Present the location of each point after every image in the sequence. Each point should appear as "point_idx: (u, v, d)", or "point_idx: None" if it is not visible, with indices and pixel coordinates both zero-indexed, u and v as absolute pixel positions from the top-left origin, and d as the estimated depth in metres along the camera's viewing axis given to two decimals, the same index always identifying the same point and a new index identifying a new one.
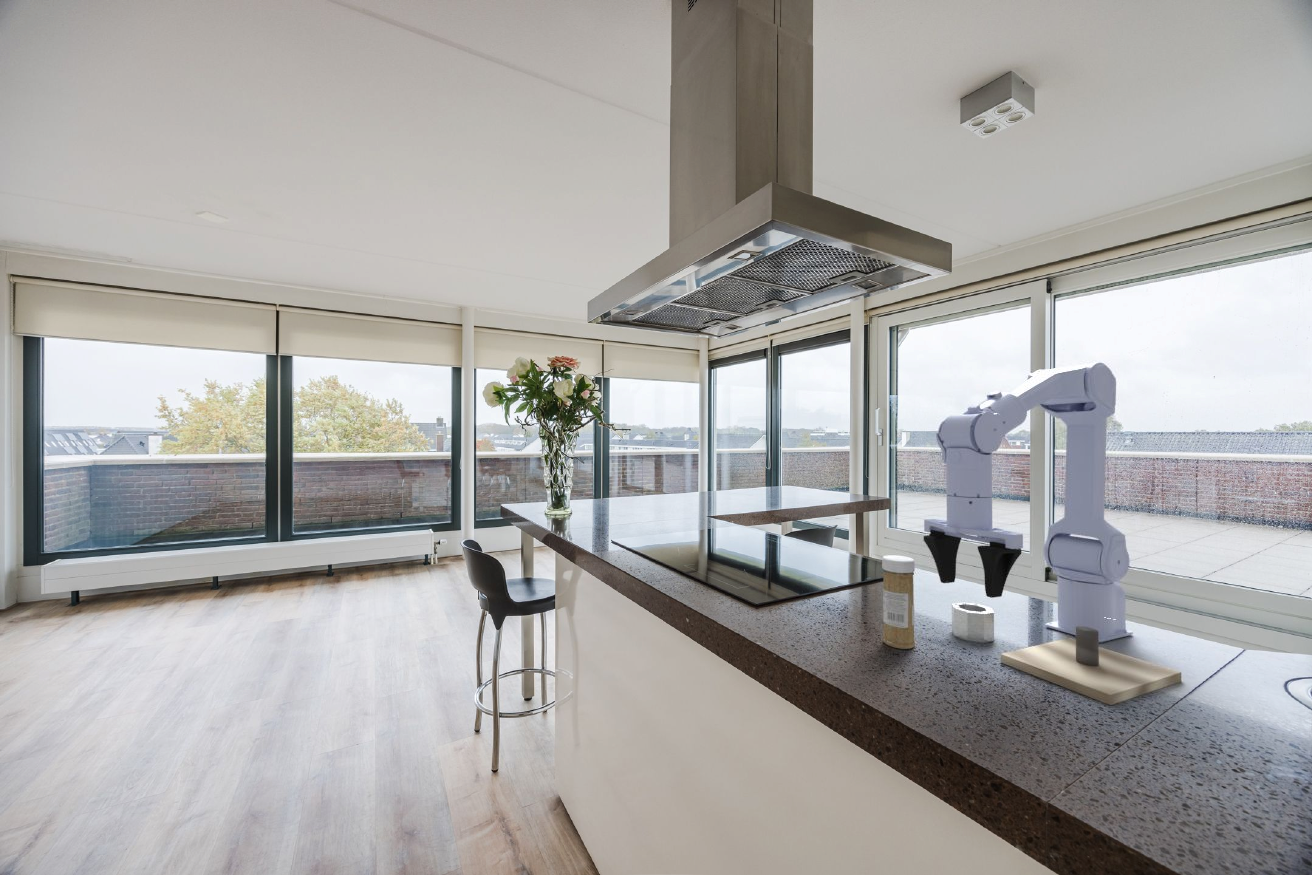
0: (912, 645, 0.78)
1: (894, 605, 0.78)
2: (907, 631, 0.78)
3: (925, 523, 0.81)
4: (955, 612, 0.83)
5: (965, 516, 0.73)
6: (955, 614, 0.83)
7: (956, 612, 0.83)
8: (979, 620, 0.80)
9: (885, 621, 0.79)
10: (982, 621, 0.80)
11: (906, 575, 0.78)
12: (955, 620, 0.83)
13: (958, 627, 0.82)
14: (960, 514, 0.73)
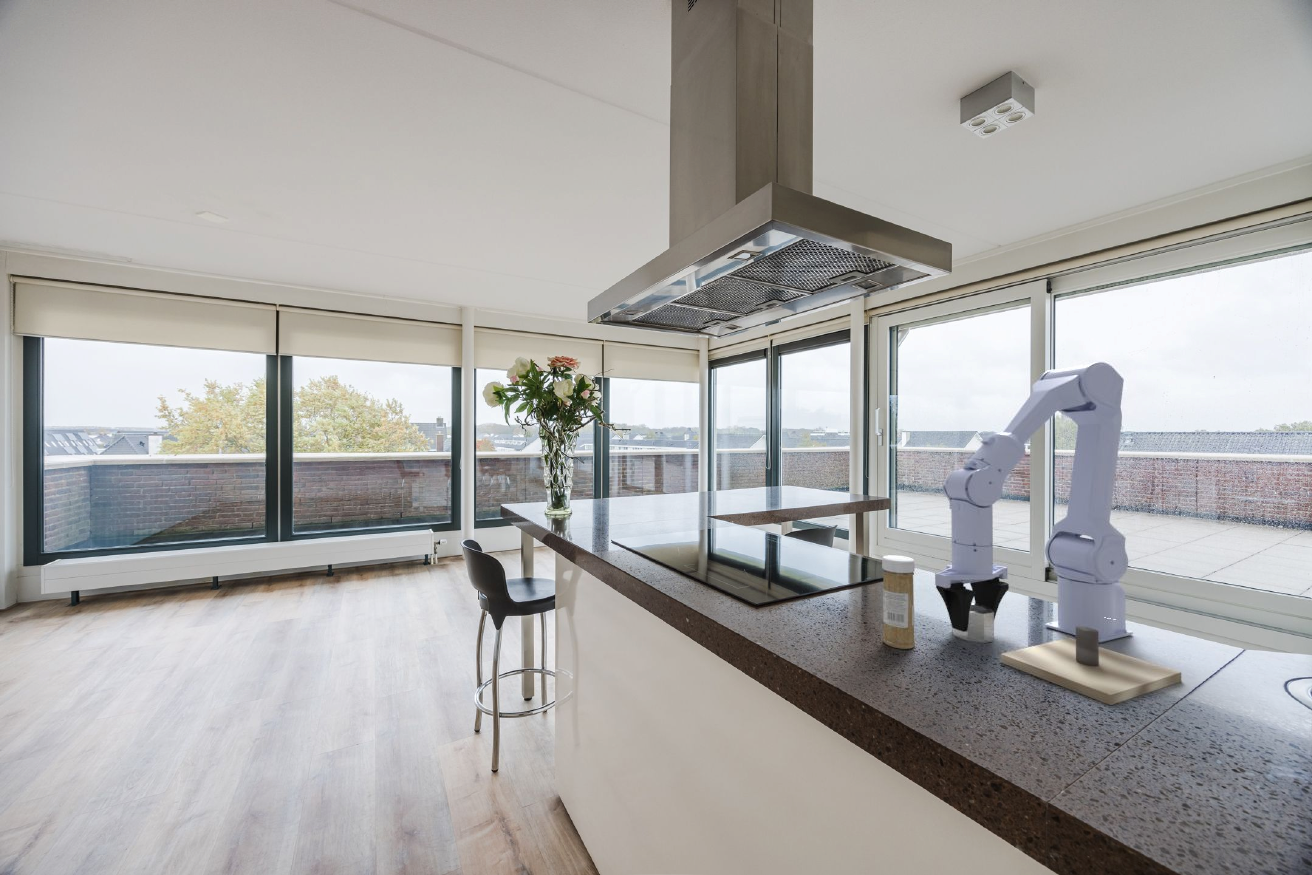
0: (912, 645, 0.78)
1: (894, 605, 0.78)
2: (907, 631, 0.78)
3: None
4: None
5: None
6: None
7: None
8: (979, 620, 0.80)
9: (885, 621, 0.79)
10: (982, 621, 0.80)
11: (906, 575, 0.78)
12: None
13: None
14: None
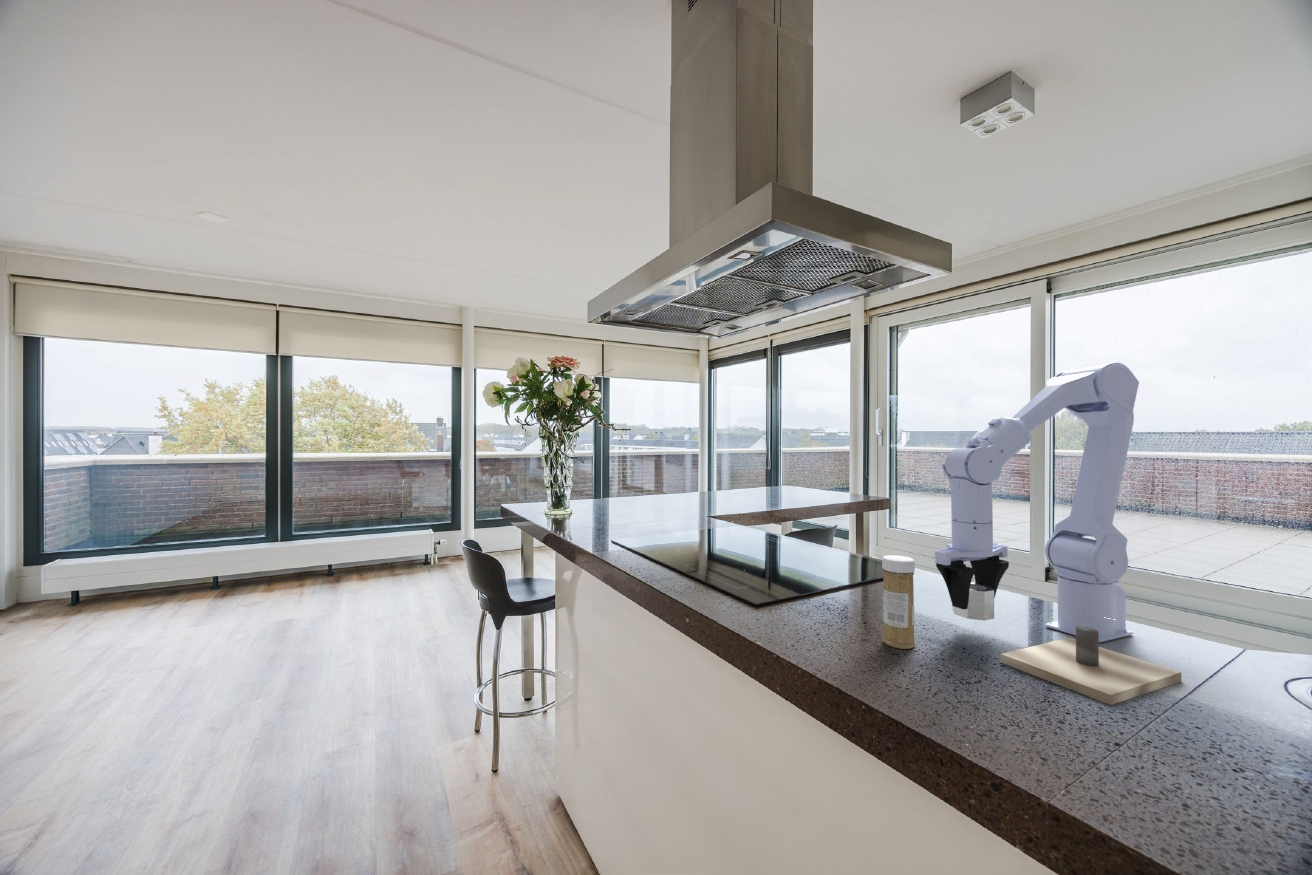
0: (912, 645, 0.78)
1: (894, 605, 0.78)
2: (907, 631, 0.78)
3: None
4: None
5: None
6: None
7: None
8: (979, 598, 0.80)
9: (885, 621, 0.79)
10: (982, 599, 0.80)
11: (906, 575, 0.78)
12: None
13: None
14: None
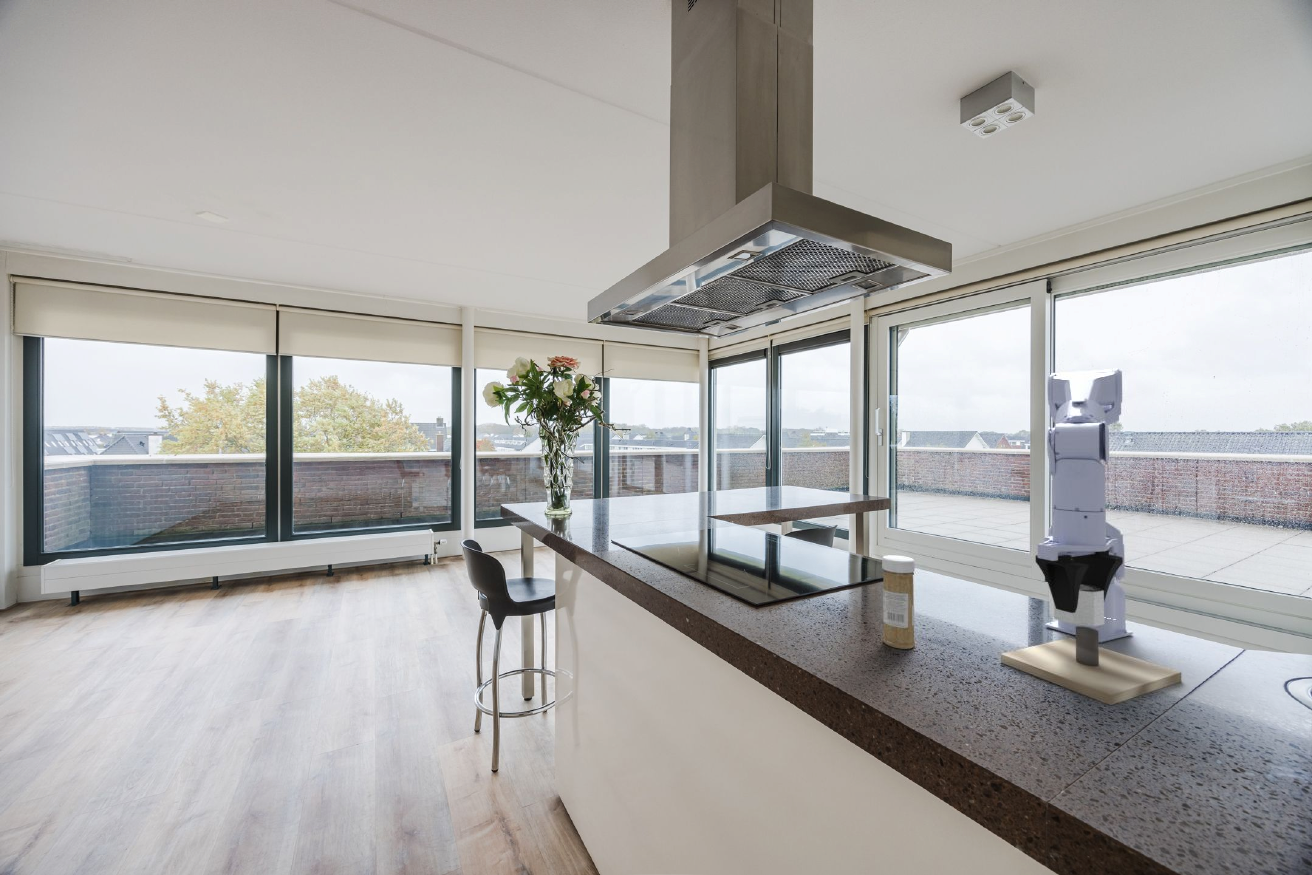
0: (912, 645, 0.78)
1: (894, 605, 0.78)
2: (907, 631, 0.78)
3: None
4: None
5: (1052, 527, 0.73)
6: None
7: None
8: (1087, 600, 0.69)
9: (885, 621, 0.79)
10: (1091, 601, 0.68)
11: (906, 575, 0.78)
12: None
13: None
14: None
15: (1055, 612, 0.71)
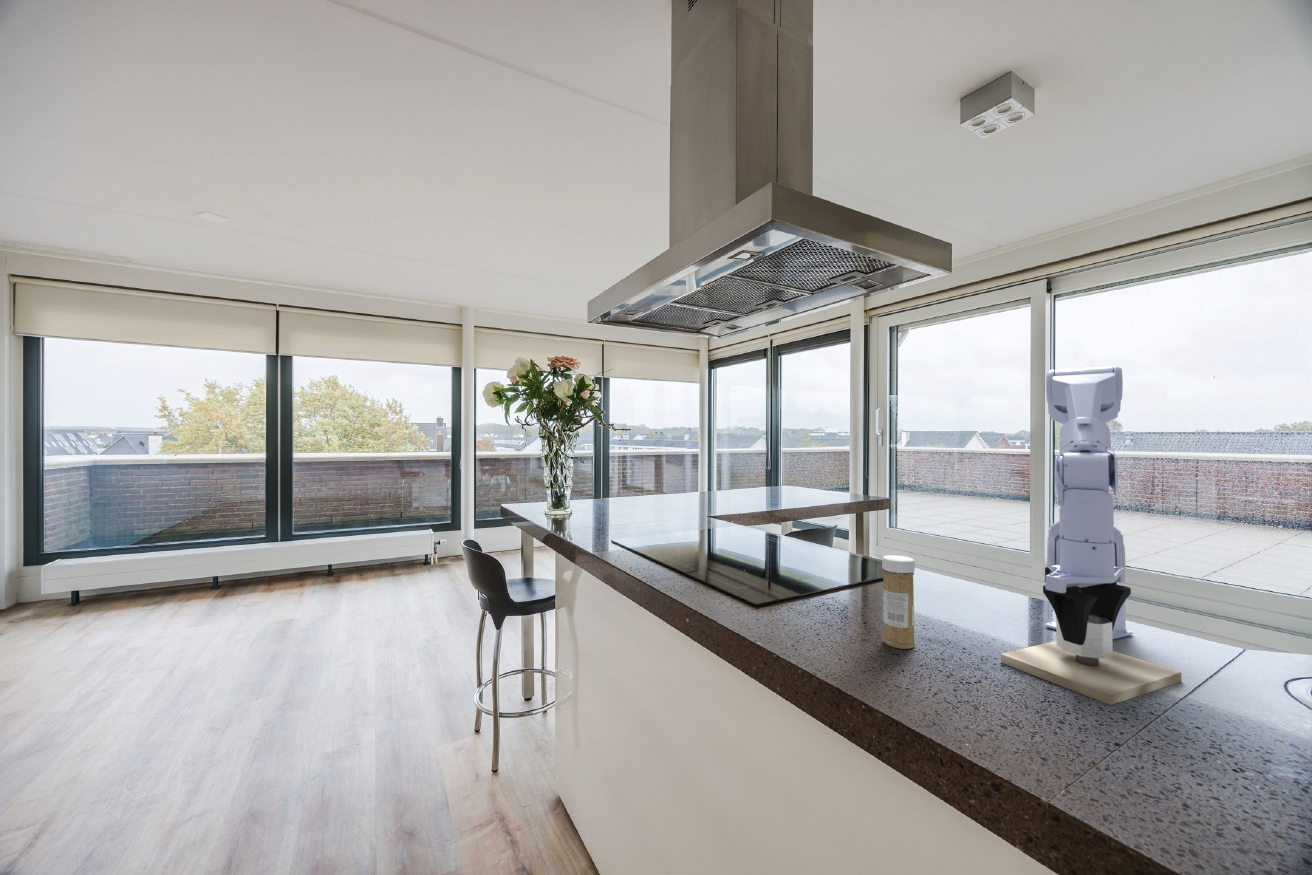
0: (912, 645, 0.78)
1: (894, 605, 0.78)
2: (907, 631, 0.78)
3: None
4: None
5: (1059, 556, 0.72)
6: None
7: None
8: (1096, 632, 0.68)
9: (885, 621, 0.79)
10: (1100, 633, 0.68)
11: (906, 575, 0.78)
12: None
13: None
14: None
15: (1063, 643, 0.70)
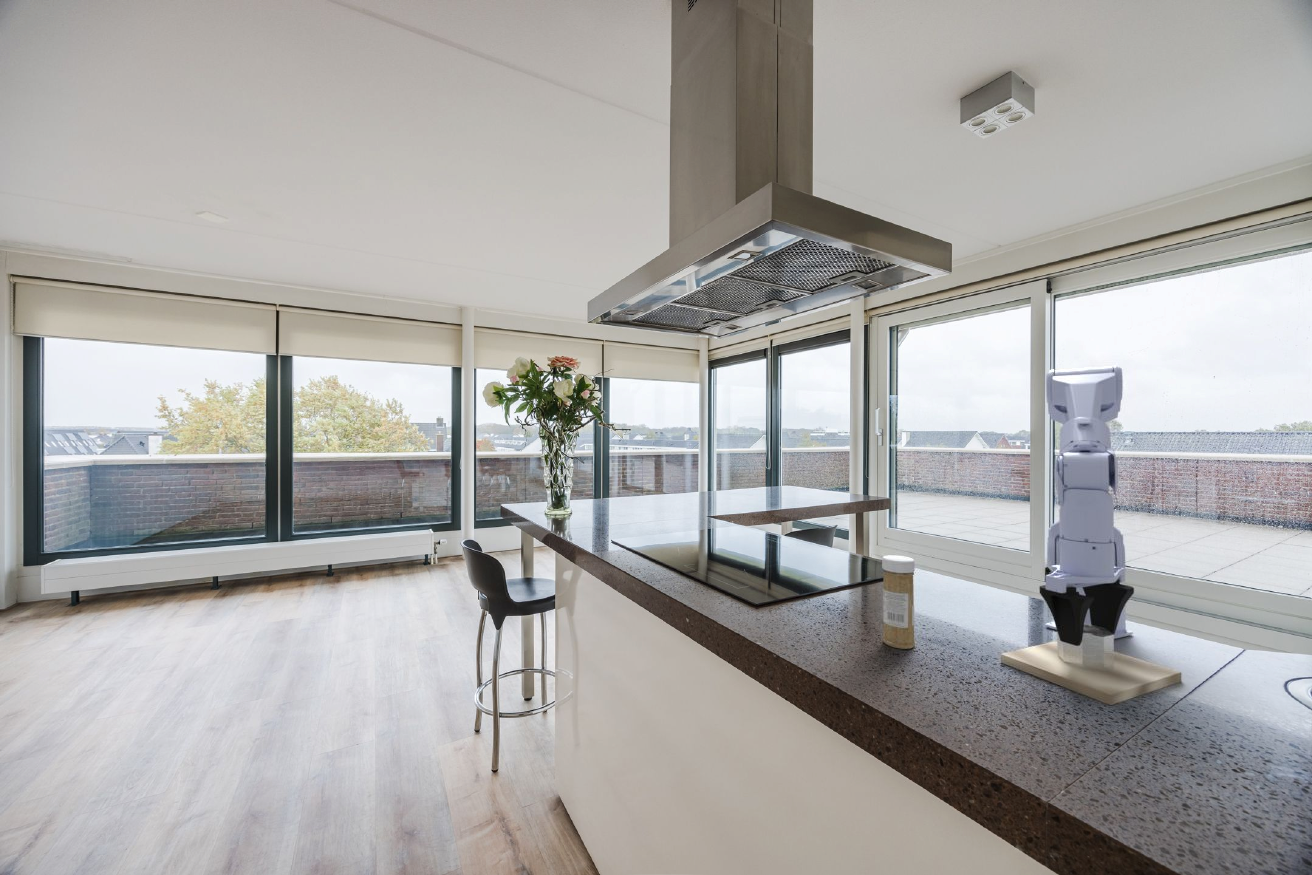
0: (912, 645, 0.78)
1: (894, 605, 0.78)
2: (907, 631, 0.78)
3: None
4: None
5: (1059, 556, 0.72)
6: None
7: None
8: (1097, 644, 0.68)
9: (885, 621, 0.79)
10: (1101, 645, 0.68)
11: (906, 575, 0.78)
12: (1065, 643, 0.70)
13: (1069, 652, 0.70)
14: None
15: (1064, 655, 0.70)
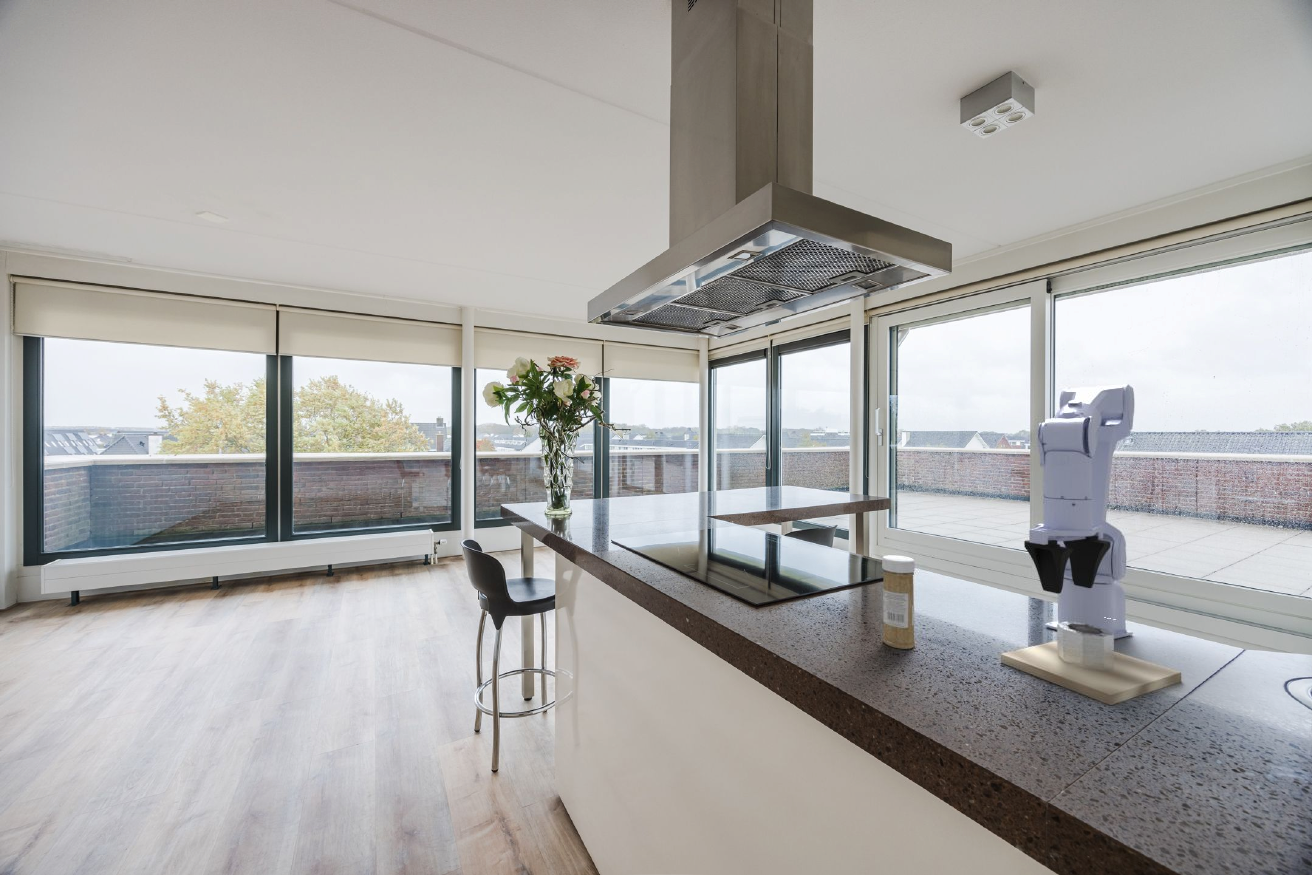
0: (912, 645, 0.78)
1: (894, 605, 0.78)
2: (907, 631, 0.78)
3: None
4: (1065, 634, 0.70)
5: (1043, 514, 0.78)
6: (1065, 636, 0.70)
7: (1066, 634, 0.70)
8: (1097, 644, 0.68)
9: (885, 621, 0.79)
10: (1101, 645, 0.68)
11: (906, 575, 0.78)
12: (1065, 643, 0.70)
13: (1069, 652, 0.70)
14: None
15: (1064, 655, 0.70)
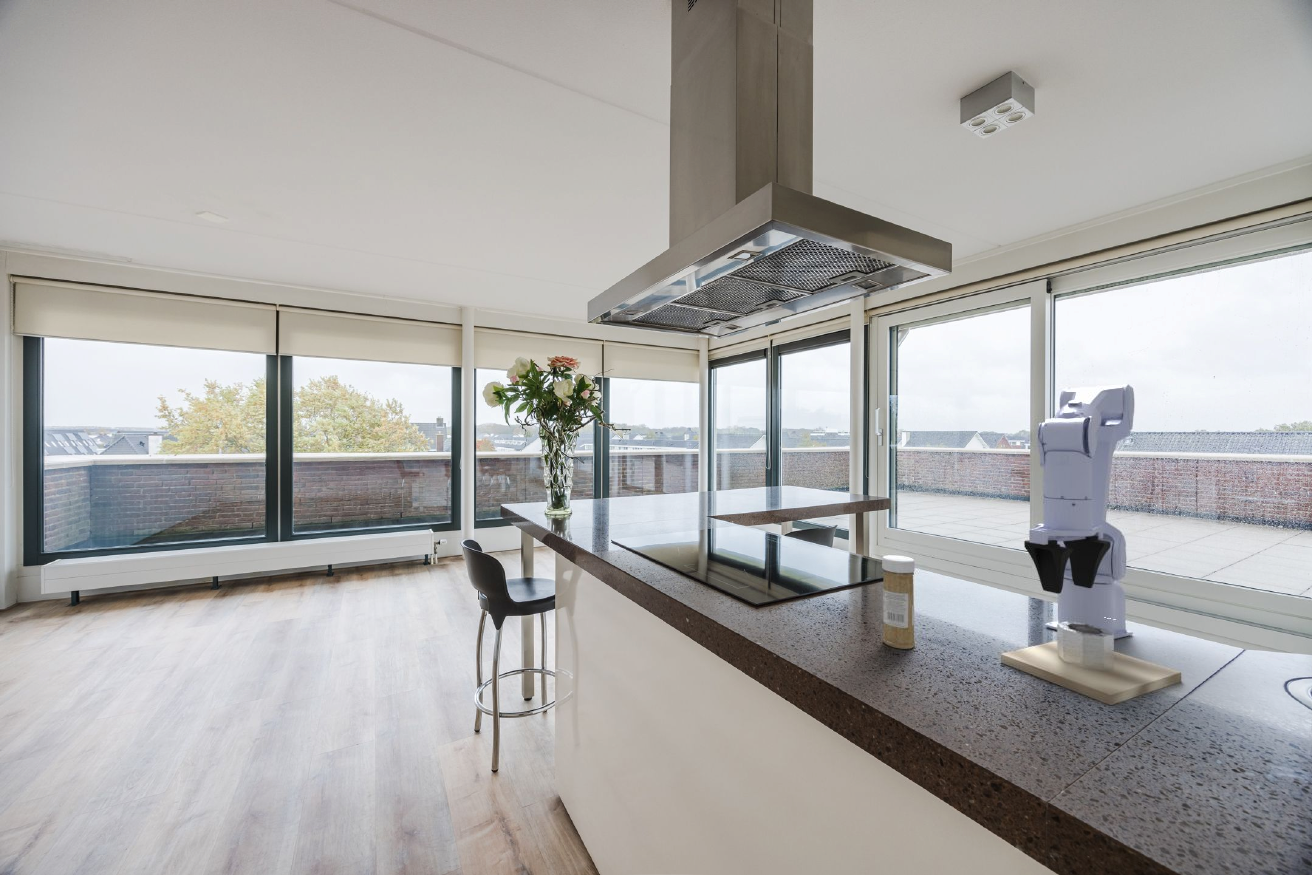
0: (912, 645, 0.78)
1: (894, 605, 0.78)
2: (907, 631, 0.78)
3: None
4: (1065, 634, 0.70)
5: (1043, 514, 0.78)
6: (1065, 636, 0.70)
7: (1066, 634, 0.70)
8: (1097, 644, 0.68)
9: (885, 621, 0.79)
10: (1101, 645, 0.68)
11: (906, 575, 0.78)
12: (1065, 643, 0.70)
13: (1069, 652, 0.70)
14: None
15: (1064, 655, 0.70)
